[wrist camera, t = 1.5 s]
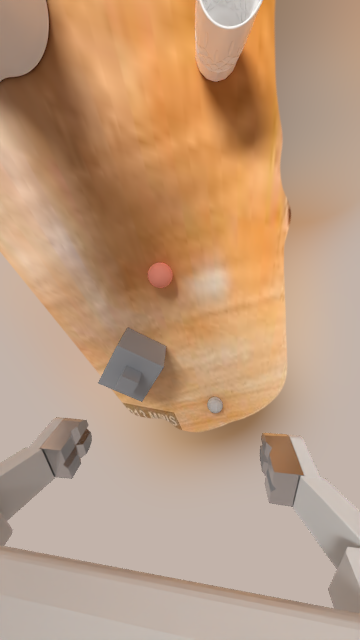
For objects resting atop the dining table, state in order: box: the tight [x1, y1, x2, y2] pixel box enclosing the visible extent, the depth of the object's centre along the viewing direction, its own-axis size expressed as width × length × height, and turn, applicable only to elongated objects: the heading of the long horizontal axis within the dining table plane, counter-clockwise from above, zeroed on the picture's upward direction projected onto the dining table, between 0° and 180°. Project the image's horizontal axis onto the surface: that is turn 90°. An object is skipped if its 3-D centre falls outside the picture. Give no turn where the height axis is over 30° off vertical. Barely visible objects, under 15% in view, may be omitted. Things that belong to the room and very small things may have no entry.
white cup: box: [195, 0, 263, 82], centre depth 28 cm, size 8×8×10 cm
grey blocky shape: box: [98, 328, 166, 402], centre depth 45 cm, size 10×10×12 cm
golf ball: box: [207, 397, 223, 413], centre depth 55 cm, size 4×4×4 cm
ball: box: [148, 262, 173, 288], centre depth 42 cm, size 5×5×5 cm
